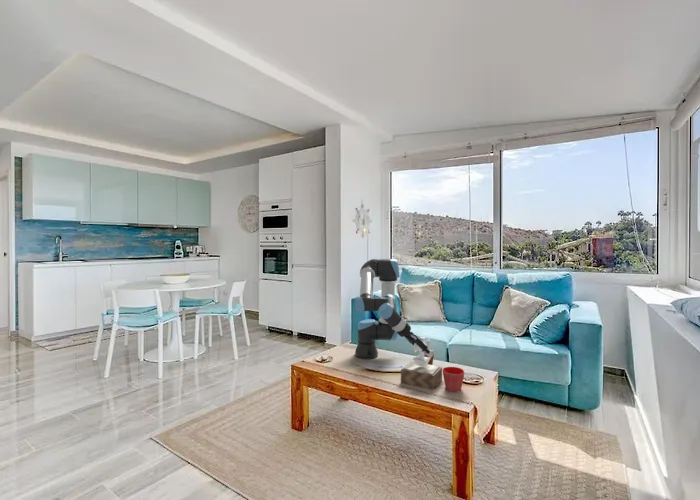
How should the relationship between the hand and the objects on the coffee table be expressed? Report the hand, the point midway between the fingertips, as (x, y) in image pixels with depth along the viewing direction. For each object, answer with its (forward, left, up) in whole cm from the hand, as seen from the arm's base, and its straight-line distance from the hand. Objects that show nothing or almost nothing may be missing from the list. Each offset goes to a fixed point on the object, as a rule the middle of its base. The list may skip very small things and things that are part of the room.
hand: (427, 353), depth 202 cm
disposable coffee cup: (-6, +16, -15) cm, 22 cm away
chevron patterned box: (-2, -3, -15) cm, 15 cm away
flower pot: (+15, -4, -15) cm, 22 cm away
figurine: (-2, -3, -6) cm, 7 cm away
